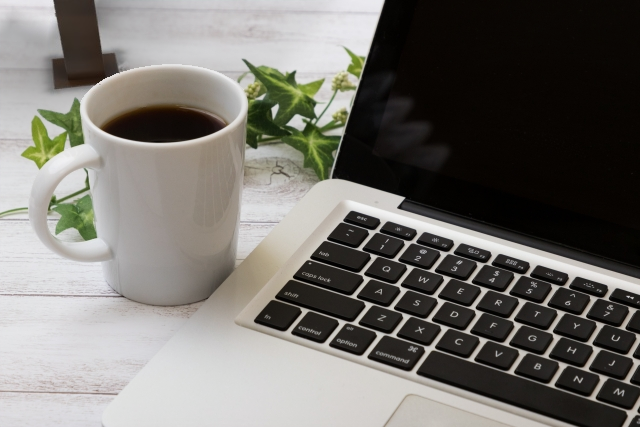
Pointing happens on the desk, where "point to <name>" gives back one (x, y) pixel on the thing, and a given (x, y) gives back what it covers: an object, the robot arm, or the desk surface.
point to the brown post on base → (80, 46)
